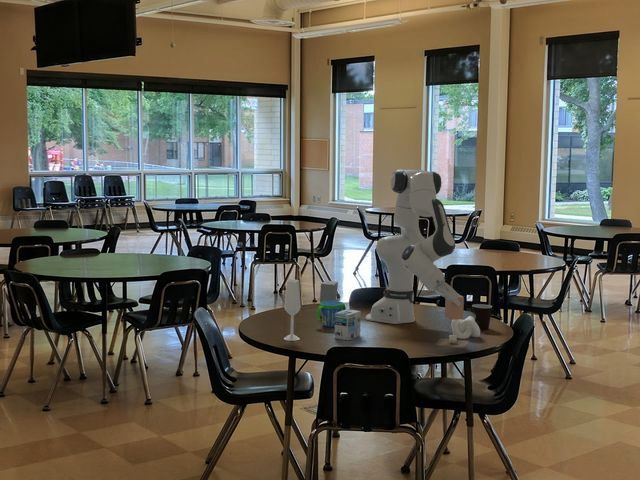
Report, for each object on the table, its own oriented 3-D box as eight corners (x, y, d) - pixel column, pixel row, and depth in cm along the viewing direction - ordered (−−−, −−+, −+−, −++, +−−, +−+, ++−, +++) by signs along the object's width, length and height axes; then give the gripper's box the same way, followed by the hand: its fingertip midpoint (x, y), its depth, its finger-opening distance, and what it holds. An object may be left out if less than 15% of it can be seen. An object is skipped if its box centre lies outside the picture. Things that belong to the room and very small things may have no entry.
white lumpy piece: (459, 342, 342) (460, 321, 341) (443, 336, 353) (444, 315, 352) (482, 340, 346) (483, 319, 345) (466, 334, 357) (467, 313, 356)
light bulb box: (347, 340, 341) (348, 314, 339) (333, 338, 344) (334, 312, 343) (360, 336, 350) (361, 310, 348) (346, 333, 353) (347, 308, 352)
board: (434, 347, 333) (435, 344, 333) (440, 340, 345) (440, 338, 344) (465, 350, 329) (465, 347, 329) (469, 343, 341) (470, 341, 341)
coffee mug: (491, 331, 364) (492, 308, 363) (470, 329, 366) (471, 307, 365) (491, 325, 376) (492, 303, 374) (471, 324, 377) (472, 302, 376)
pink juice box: (450, 319, 332) (451, 294, 331) (444, 316, 338) (445, 291, 337) (463, 319, 333) (464, 294, 332) (457, 316, 339) (458, 291, 338)
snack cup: (322, 330, 359) (323, 306, 358) (309, 325, 368) (310, 302, 367) (352, 326, 368) (353, 303, 367) (338, 321, 377) (339, 299, 375)
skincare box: (323, 313, 394) (323, 280, 393) (337, 314, 392) (338, 281, 391) (318, 316, 386) (318, 282, 384) (333, 317, 384) (334, 283, 383)
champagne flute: (284, 336, 346) (285, 278, 343) (301, 337, 345) (302, 279, 342) (282, 340, 339) (283, 281, 336) (298, 340, 338) (300, 282, 336)
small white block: (448, 343, 336) (448, 336, 336) (449, 341, 339) (449, 334, 338) (455, 344, 335) (456, 336, 335) (457, 342, 338) (457, 335, 337)
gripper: (448, 277, 322) (471, 302, 325) (430, 269, 342) (452, 293, 345) (436, 289, 322) (459, 313, 325) (420, 280, 342) (441, 303, 345)
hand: (455, 303), depth 335 cm, fingers closed on pink juice box, 6 cm apart
